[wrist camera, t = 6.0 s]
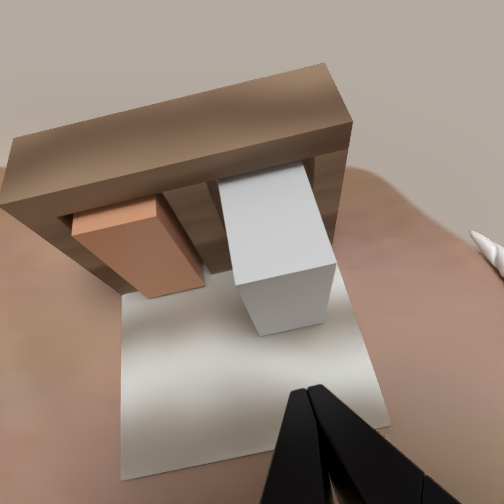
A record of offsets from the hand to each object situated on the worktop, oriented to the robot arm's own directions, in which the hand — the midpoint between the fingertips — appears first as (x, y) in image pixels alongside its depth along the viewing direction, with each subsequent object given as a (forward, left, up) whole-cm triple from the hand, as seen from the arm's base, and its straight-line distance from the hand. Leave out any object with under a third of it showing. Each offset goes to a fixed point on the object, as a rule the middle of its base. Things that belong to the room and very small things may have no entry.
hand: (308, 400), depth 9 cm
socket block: (+6, +3, -12) cm, 14 cm away
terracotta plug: (+12, +7, -11) cm, 17 cm away
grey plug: (+8, 0, -11) cm, 13 cm away
